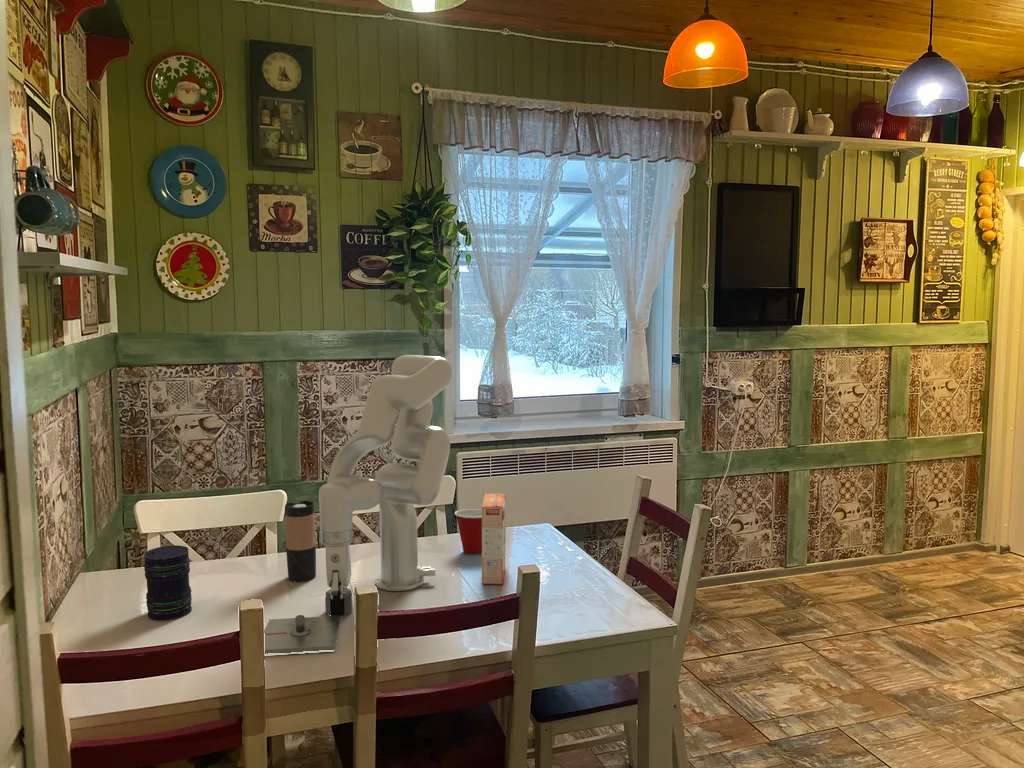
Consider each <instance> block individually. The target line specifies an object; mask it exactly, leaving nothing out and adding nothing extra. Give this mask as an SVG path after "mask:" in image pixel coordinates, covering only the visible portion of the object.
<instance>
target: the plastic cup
mask: <svg viewBox="0 0 1024 768" xmlns="http://www.w3.org/2000/svg"><path fill="white" fill-rule="evenodd" d="M454 515H455V517H456V520H457V524H458V531H459V535H460V536H459V537H460V541H461V545H462V546H461V547H462V550H463V553H464V552H465V553H464V554H466V553H467V554H466V555H470V554H475V555H480V554H482V509H478V508H477V509H476V508H475V509H474V508H469V509H467V508H466V509H460V510H455V512H454ZM479 553H480V554H479Z"/></svg>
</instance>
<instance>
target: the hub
mask: <svg viewBox="0 0 1024 768" xmlns="http://www.w3.org/2000/svg"><path fill="white" fill-rule="evenodd" d="M340 624H342V617H341V616H328V615H325V616H323V615H322V616H307V617H306V616H305V615H303V614H298V615H296V616H295V617H289V618H272V619H271V618H270V619H268V622H267V624H266V627H265V628H264V631H265V654H266V653H267V654H268V653H291V652H303V651H319V650H334V649H335V650H336V647H335V644H336V645H337V643H336V640H337V641H338V638H337V636H338V637H339V634H338V632H340V629H339V628H341V625H340Z"/></svg>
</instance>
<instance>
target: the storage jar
mask: <svg viewBox="0 0 1024 768" xmlns="http://www.w3.org/2000/svg"><path fill="white" fill-rule="evenodd" d="M189 555H190V554H189V547H187V546H184V545H165V546H159V547H155V548H152V549H149V550H146V551H145V552H144V554H143V558H144V566H143V568H144V576H145V577H144V578H145V579H146V590H147V592H146V594H145V595H146V596H145V602H146V608H147V609H146V610H147V618H148V619H149V620H151V621H153V622H154V621H156V622H168V621H174V620H178V619H181V618H184V617H186V616H187V615H189V614H191V612H193V611H192V600H193V599H192V588H191V586H190V572H191V567H190V564H191V563H190V561H191V560H190V557H189Z"/></svg>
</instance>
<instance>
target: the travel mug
mask: <svg viewBox="0 0 1024 768" xmlns="http://www.w3.org/2000/svg"><path fill="white" fill-rule="evenodd" d="M284 517H285V518H284V519H285V523H284V525H285V549H286V550H285V551H286V561H287V562H286V564H287V577H288V580H289V581H290V580H291V581H290V582H293V581H296V582H295V583H302V582H301V581H305V582H309V581H311V579H312V580H314V579H315V578H316V576H317V553H316V552H317V548H316V547H317V546H316V544H317V543H316V542H317V541H316V538H317V537H316V520H315V519H316V518H315V504H314V502H313V501H309V500H301V501H300V502H296V503H295V502H292V501H290V502H287V503H285V505H284ZM313 578H314V579H313ZM308 580H309V581H308Z"/></svg>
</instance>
